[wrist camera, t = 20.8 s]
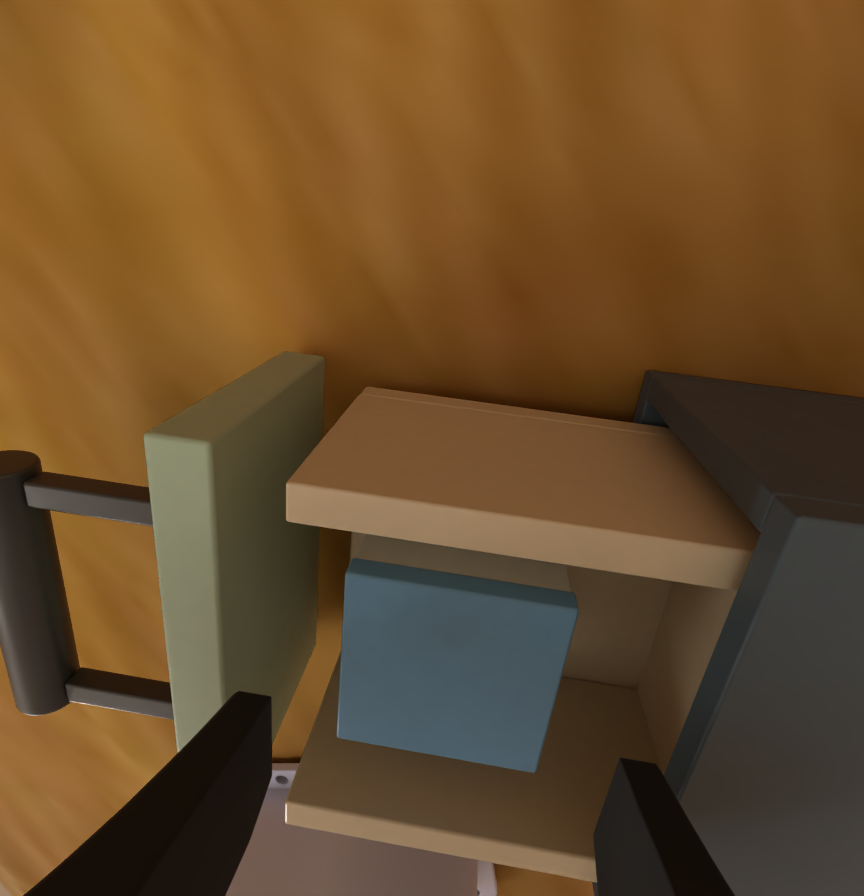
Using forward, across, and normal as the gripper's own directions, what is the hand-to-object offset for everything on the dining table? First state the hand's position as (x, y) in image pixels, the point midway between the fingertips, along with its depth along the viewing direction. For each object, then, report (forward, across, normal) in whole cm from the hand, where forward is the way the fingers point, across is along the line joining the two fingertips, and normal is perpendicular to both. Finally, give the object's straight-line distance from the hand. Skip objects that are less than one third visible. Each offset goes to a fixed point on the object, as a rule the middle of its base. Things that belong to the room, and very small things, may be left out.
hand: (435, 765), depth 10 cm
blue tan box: (+6, 0, 0) cm, 7 cm away
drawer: (+8, +2, 0) cm, 8 cm away
